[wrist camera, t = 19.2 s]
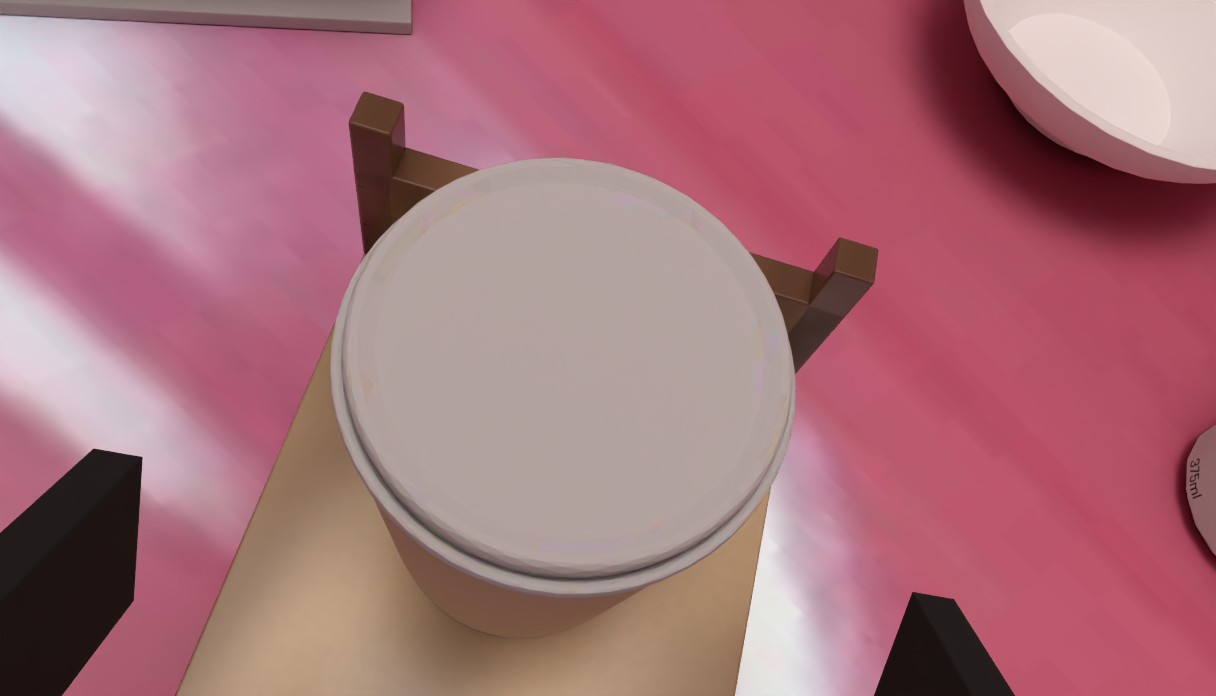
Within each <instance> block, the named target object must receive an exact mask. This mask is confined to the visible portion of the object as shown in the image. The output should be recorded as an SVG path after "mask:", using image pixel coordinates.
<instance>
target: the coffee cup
mask: <svg viewBox="0 0 1216 696" xmlns="http://www.w3.org/2000/svg"><path fill="white" fill-rule="evenodd" d="M330 380H331V395H332V401H333V406H334V411H335V417H336V421H337V424H338V427H339V430H340V434H341V437H342V440H343V443H344V446H345V448H346V450H347V452H348V454H349V457H350V459H351V461H352V463H353V465H354V467H355V470H356V471H357V473H358V474H359V476H360V478H361V479H362V481H363V483H364V484H365V486H366V487H367V489H368V491H369V492H370V494H371V495H372V497H373V498H374V500H375V502H376V505H377V507H378V509H379V512H380V514H381V516H382V518H383V520H384V522H385V525H386V527H387V529H388V531H389V533H390V535H391V537H392V540H393V542H394V544H395V546H396V548H397V550H398V553H399V555H400V557H401V559H402V561H403V563H404V564H405V566H406V568H407V570H408V571H409V573H410V574H411V576H412V577H413V579H414V580H415V582H416V583H417V585H418V586H419V587H420V589H421V590H422V591H423V592H424V594H425V595H426V596H427V597H428V598H429V599H430V600H431V601H432V602H433V603H434V604H435V605H436V606H437V607H439V608H440V609H441V610H442V611H443V612H445V613H446V614H447V615H449V616H450V617H452V618H453V619H455V620H457V621H458V622H460V623H462V624H464V625H466V626H468V627H470V628H472V629H475V630H478V631H482V632H485V633H488V634H491V635H496V636H501V637H509V638H535V637H541V636H547V635H552V634H556V633H559V632H562V631H565V630H568V629H571V628H573V627H576V626H578V625H580V624H582V623H584V622H586V621H588V620H590V619H592V618H594V617H596V616H598V615H599V614H601V613H603V612H605V611H607V610H608V609H610V608H612V607H614V606H615V605H617V604H619V603H621V602H622V601H624V600H626V599H628V598H629V597H631V596H633V595H634V594H636V593H638V592H639V591H641V590H643V589H644V588H646V587H648V586H649V585H652V584H655V583H658V582H660V581H663V580H665V579H667V578H669V577H671V576H673V575H675V574H678V573H680V572H682V571H684V570H686V569H688V568H689V567H691V566H693V565H694V564H696V563H697V562H699V561H701V560H702V559H704V558H705V557H707V556H709V555H710V554H711V553H713V552H714V551H715V550H716V549H718V548H719V547H720V546H721V545H723V544H724V543H725V542H726V541H728V540H729V539H730V538H731V537H732V536H733V535H734V534H735V533H736V532H737V531H738V530H739V529H740V528H741V527H742V526H743V524H744V523H745V522H746V521H747V520H748V519H749V518H750V516H751V515H752V514H753V512H754V511H755V510H756V508H757V507H758V506H759V504H760V503H761V502H762V500H763V498H764V497H765V495H766V493H767V491H768V490H769V488H770V486H771V485H772V483H773V481H774V479H775V477H776V475H777V473H778V470H779V468H780V466H781V463H782V461H783V459H784V456H785V452H786V449H787V446H788V443H789V439H790V436H791V430H792V424H793V419H794V411H795V395H796V389H795V370H794V364H793V358H792V351H791V347H790V343H789V339H788V334H787V330H786V326H785V322H784V318H783V315H782V312H781V310H780V307H779V305H778V303H777V300H776V298H775V295H774V293H773V291H772V289H771V287H770V285H769V283H768V281H767V279H766V277H765V275H764V274H763V272H762V271H761V269H760V268H759V266H758V265H757V263H756V262H755V260H754V259H753V257H752V256H751V255H750V253H749V252H748V251H747V250H746V248H745V247H744V246H743V245H742V243H741V242H740V241H739V240H738V239H737V238H736V237H735V236H734V235H733V234H732V232H731V231H730V230H729V229H728V228H727V227H726V226H725V225H724V224H723V223H722V222H721V221H719V220H718V219H717V218H716V217H715V216H713V215H712V214H711V213H710V212H709V211H707V210H706V209H705V208H703V207H702V206H701V205H699V204H698V203H696V202H695V201H694V200H692V199H691V198H689V197H688V196H686V195H685V194H683V193H681V192H679V191H677V190H676V189H674V188H672V187H670V186H668V185H666V184H664V183H662V182H660V181H658V180H656V179H654V178H652V177H650V176H647V175H644V174H641V173H638V172H635V171H632V170H629V169H626V168H622V167H619V166H615V165H612V164H608V163H602V162H596V161H590V160H582V159H572V158H539V159H527V160H519V161H514V162H509V163H504V164H499V165H496V166H492V167H489V168H485V169H482V170H479V171H476V172H474V173H471V174H469V175H466V176H464V177H461V178H458V179H456V180H454V181H453V182H451V183H449V184H447V185H445V186H443V187H441V188H440V189H438V190H436V191H435V192H433V193H432V194H430V195H429V196H427V197H426V198H424V199H422V200H421V201H419V202H418V203H417V204H416V205H415V206H414V207H412V208H411V209H410V210H409V211H408V212H407V213H406V214H404V215H403V216H402V217H401V218H400V219H399V220H397V221H396V222H395V223H394V224H393V225H392V226H391V227H390V228H389V229H388V230H387V231H386V232H385V233H384V234H383V235H382V236H381V237H380V238H379V239H378V240H377V241H376V243H375V244H374V245H373V247H372V248H371V249H370V251H369V252H368V253H367V255H366V256H365V257H364V259H363V260H362V262H361V264H360V265H359V267H358V269H357V270H356V272H355V274H354V275H353V277H352V279H351V281H350V284H349V286H348V288H347V290H346V293H345V295H344V297H343V299H342V303H341V306H340V309H339V312H338V316H337V319H336V323H335V329H334V334H333V339H332V346H331V362H330Z"/></svg>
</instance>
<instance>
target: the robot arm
mask: <svg viewBox="0 0 1216 696" xmlns="http://www.w3.org/2000/svg"><path fill="white" fill-rule="evenodd" d="M141 473H142V457H139V456H133V455H127V454H121V453H116V452H110V451H104V450H99V449H93V450H92V451H91V452H89V453H88V454H87V455H86V456H85V457H84V458H83V459H82V460H81V461H79V462H78V463H77V464H76V465H75V466H74V467H73V468H72V469H71V470H70V471H68V472H67V473H66V474H65V475H64V476H63V477H62V478H61V479H60V480H58V481H57V482H56V483H55V484H54V485H53V486H52V487H51V488H50V489H48V490H47V491H46V492H45V493H44V494H43V495H42V496H41V497H40V498H39V499H37V500H36V501H35V502H34V503H33V504H32V505H31V506H30V507H29V508H27V509H26V510H25V511H24V512H23V513H22V514H21V515H20V516H19V517H17V518H16V519H15V520H14V521H13V522H12V523H11V524H10V525H9V526H8V527H6V528H5V529H4V530H3V531H2V532H1V533H0V696H62V695H63V693H64V692H65V691H66V689H67V688H68V687H69V685H70V684H71V683H72V681H73V680H74V679H75V677H76V676H77V675H78V673H79V672H80V671H81V669H82V668H83V667H84V666H85V664H86V663H87V662H88V660H89V659H90V658H91V656H92V655H93V654H94V652H95V651H96V650H97V648H98V647H99V646H100V644H101V643H102V642H103V640H104V639H105V638H106V636H107V635H108V634H109V632H110V631H111V630H112V628H113V627H114V626H115V624H116V623H117V622H118V621H119V619H120V618H121V617H122V615H123V614H124V613H125V611H126V610H127V609H128V607H129V606H130V605H131V603H132V602H133V601H134V587H135V570H136V554H137V538H138V522H139V506H140V490H141ZM874 696H1015V695H1014V693H1013V692H1012V690H1011V689H1010V687H1009V686H1008V684H1007V682H1006V681H1005V679H1004V678H1003V676H1002V674H1001V673H1000V671H999V670H998V668H997V667H996V665H995V663H994V662H993V660H992V659H991V657H990V656H989V654H988V652H987V651H986V649H985V648H984V646H983V644H982V643H981V641H980V640H979V638H978V637H977V635H976V633H975V632H974V630H973V629H972V627H971V625H970V624H969V622H968V621H967V619H966V618H965V616H964V614H963V613H962V611H961V610H960V608H959V607H958V605H957V603H956V602H955V600H954V599H950V598H944V597H938V596H932V595H927V594H921V593H915V592H912V595H911V597H910V600H909V603H908V606H907V608H906V611H905V614H904V616H903V619H902V622H901V624H900V627H899V630H898V632H897V635H896V638H895V640H894V643H893V646H892V649H891V651H890V654H889V657H888V659H887V662H886V665H885V667H884V670H883V673H882V675H881V678H880V681H879V683H878V686H877V689H876V692H875V694H874Z"/></svg>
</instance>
